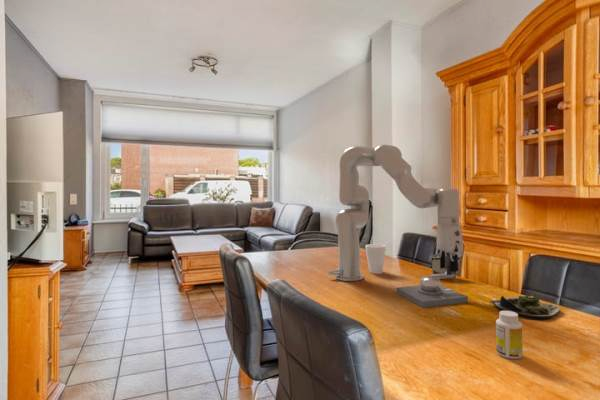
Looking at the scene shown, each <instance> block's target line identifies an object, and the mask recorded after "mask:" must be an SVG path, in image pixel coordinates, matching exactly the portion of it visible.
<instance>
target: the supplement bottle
mask: <svg viewBox="0 0 600 400" xmlns="http://www.w3.org/2000/svg"><path fill="white" fill-rule="evenodd" d="M498 317H499V318H497V319H496V320H495V347H496V348H495V349H496V350H495V351H496V353H497V354H498V355H499V356H501V357H502V358H506V359H510V360H511V359H512V360H518V359H520V358H522V357H523V324H522V321H519V317H518V314H517V313H515V312H512V311H500V310H499V316H498Z"/></svg>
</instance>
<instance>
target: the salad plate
mask: <svg viewBox="0 0 600 400" xmlns="http://www.w3.org/2000/svg"><path fill="white" fill-rule="evenodd" d="M489 303H490V304H492V305H493V306H495V308H496V309H497V310H498V311H499V312H500V311H512V312H515V313H517V314H518V316H519V317H518V318H522V319H528V320H536V321H543V320H544V321H545V320H546V321H547V320H549V319H552V318H553V317H554V316H556V315H557V314H559V312H560V311H561V308H560V307H559V306H557V305H554V304H552V303H546V302H545V303H544V302H540V298H538V297H536V296H533V295H530V296H528V295H519V296H518V297H506V296H504V295H501V297H500V299H499V300H498V299H496V300H490V301H489Z"/></svg>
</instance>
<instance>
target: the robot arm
mask: <svg viewBox="0 0 600 400" xmlns="http://www.w3.org/2000/svg"><path fill="white" fill-rule="evenodd" d="M358 167H380V168H382V169H383V170H384V171H385V172H386V174H387V175H389V176H390V177H391V178H392V179H393V181H394V182H395V185H396V186H397V189H398V190H399V192H400V194H402V196H404V198H405V199H406V200H408V201H409V202H410V203H411V204H412V205H413V206H415V207H416V208H419V209H427V208H428V209H429V208H436V207H437V228H436V246H435V249H436V250H437V252H438V253H437V254H439V257H440V268H445V252H449V253H450V259H451V261H450V272H455V271H456V272H459V261H460V258H461V257H462V256H463V255H464V252H463V251H464V243H463V242H464V240H463V233H462V232H463V231H462V227H461V225H460V191H459V189H457V188H453V187H451V188H450V187H449V188H435V187H433V188H432V187H426V188H425V187H423V186H422V185H421V184H420V183H419V182H418V181H417V180H416V179H415V177H414V176H413V174H412V166H411V164H410V163H408V162H407V161H406V160H405V159H404V158H403V154H402V152H401V150H400V148H399V147H397V146H394V145H390V144H381V145H378V146H377V147H365V146H362V145H361V146H360V145H359V146H357V145H356V146H355V145H354V146H351V147H349V148H346V149H345V150H344V151H343V153H342V154H341V155H340V158H339V190H338V191H339V193H338V195H339V202H340V203H341V205H343V206H346V207H350V208H344V209H342V210H340V211H339V212H338V213H337V215H336V216H335V226H336V231H337V242H338V243H337V244H338V245H337V246H338V267H336V269H334V270H333V269H331V270H328V275H330V276H331V275H333V276H335V279H336V280H339V281H344V282H357V281H362V280H363V279H364V275H363V274H362V273H361V269H360V268H361V265H360V264H361V263H360V262H361V261H360V260H361V259H360V256H361V255H360V237H359V236H360V235H359V233H358V229H361V228H364V227H365V226H366V225H367V223H368V221H369V214H370V211H369V210H370V195H369V191H368V189H367V188H366V187H365V186H363V185H362V184H361V185H360V184H359V183H360V182H359V180H360V176H359V175H360V174H359V171H358ZM453 255H454V257H453Z"/></svg>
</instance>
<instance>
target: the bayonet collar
mask: <svg viewBox="0 0 600 400" xmlns="http://www.w3.org/2000/svg"><path fill="white" fill-rule="evenodd" d="M444 253H445V273H443V274H433V273H432V274H428V275H427V276H425V275H424V276H421V277H420V278H419V280H420V281H419V283H420V284H419V285H420V289H421V290H423V291H427V292H439V291H440V285H441V279H440V278H451V277H455V276H454V272H450V261H451V259H450V253H449V252H444Z"/></svg>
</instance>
